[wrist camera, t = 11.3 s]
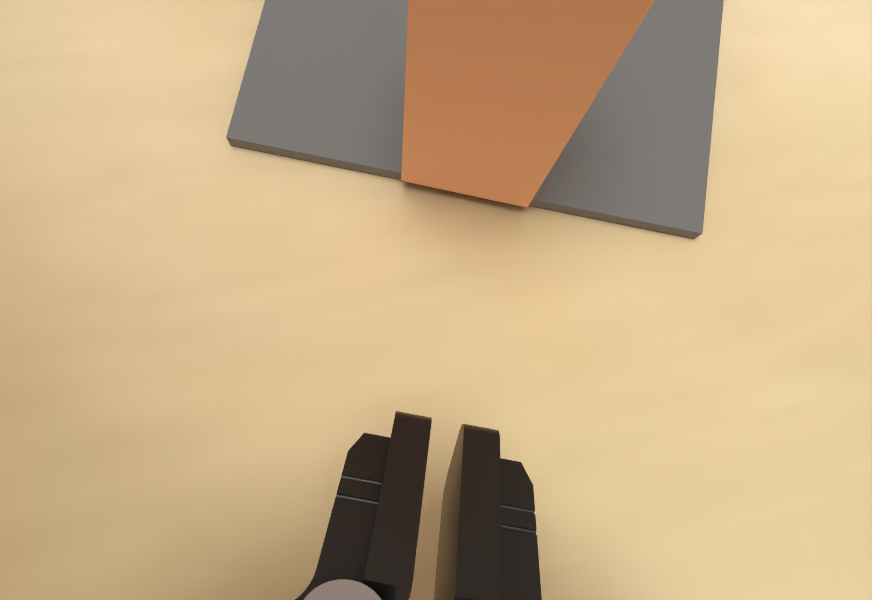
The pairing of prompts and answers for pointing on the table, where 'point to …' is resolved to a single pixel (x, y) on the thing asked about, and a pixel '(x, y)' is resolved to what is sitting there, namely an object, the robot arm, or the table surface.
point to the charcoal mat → (581, 157)
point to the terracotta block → (504, 87)
